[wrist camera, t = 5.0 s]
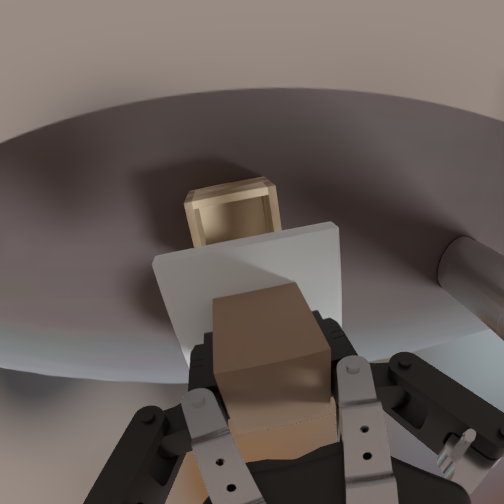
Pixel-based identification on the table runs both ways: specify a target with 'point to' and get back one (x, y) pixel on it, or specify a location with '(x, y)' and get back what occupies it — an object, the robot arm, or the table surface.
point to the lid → (260, 319)
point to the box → (232, 211)
